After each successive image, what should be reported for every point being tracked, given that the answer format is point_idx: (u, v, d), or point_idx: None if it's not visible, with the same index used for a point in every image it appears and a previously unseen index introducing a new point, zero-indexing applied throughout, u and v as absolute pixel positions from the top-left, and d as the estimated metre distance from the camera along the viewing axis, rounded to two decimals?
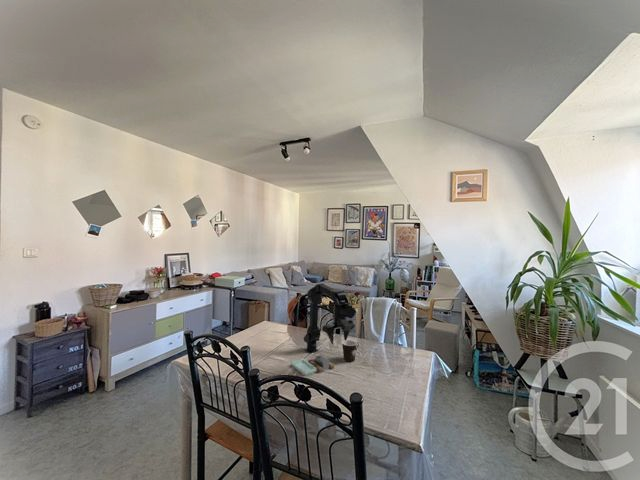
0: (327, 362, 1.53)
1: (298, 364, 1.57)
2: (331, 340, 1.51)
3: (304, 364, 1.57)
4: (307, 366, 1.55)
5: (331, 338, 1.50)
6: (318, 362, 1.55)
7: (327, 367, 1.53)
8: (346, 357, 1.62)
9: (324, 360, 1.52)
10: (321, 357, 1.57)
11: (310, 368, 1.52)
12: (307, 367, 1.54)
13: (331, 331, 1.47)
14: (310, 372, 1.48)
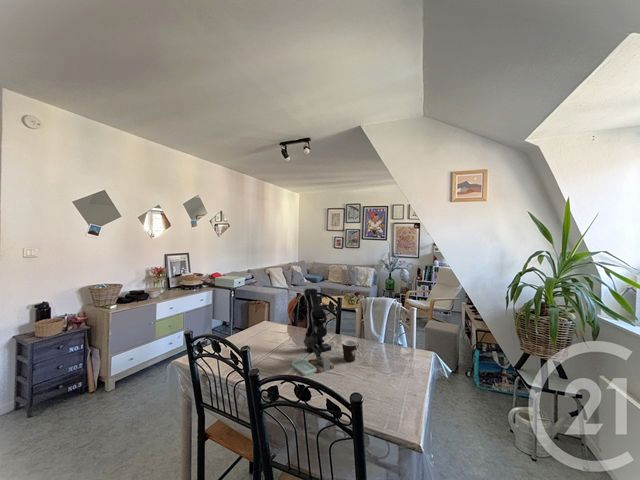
0: (328, 362, 1.52)
1: (298, 364, 1.57)
2: (316, 354, 1.60)
3: (304, 364, 1.57)
4: (307, 366, 1.55)
5: (315, 352, 1.60)
6: (319, 362, 1.54)
7: (328, 367, 1.52)
8: (346, 357, 1.62)
9: (325, 361, 1.51)
10: (322, 357, 1.56)
11: (310, 368, 1.52)
12: (307, 367, 1.54)
13: None
14: (310, 372, 1.48)
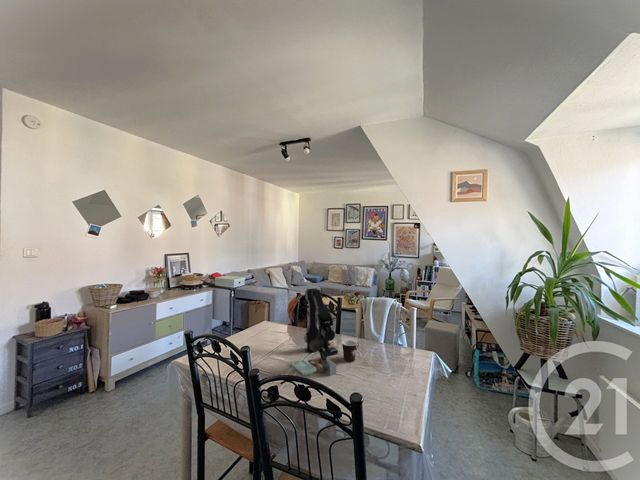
0: (334, 367, 1.47)
1: (298, 364, 1.57)
2: None
3: (304, 364, 1.57)
4: (307, 366, 1.55)
5: (320, 355, 1.55)
6: (325, 366, 1.50)
7: (334, 372, 1.47)
8: (346, 357, 1.62)
9: (331, 365, 1.47)
10: (328, 361, 1.51)
11: (310, 368, 1.52)
12: (307, 367, 1.54)
13: None
14: (310, 372, 1.48)
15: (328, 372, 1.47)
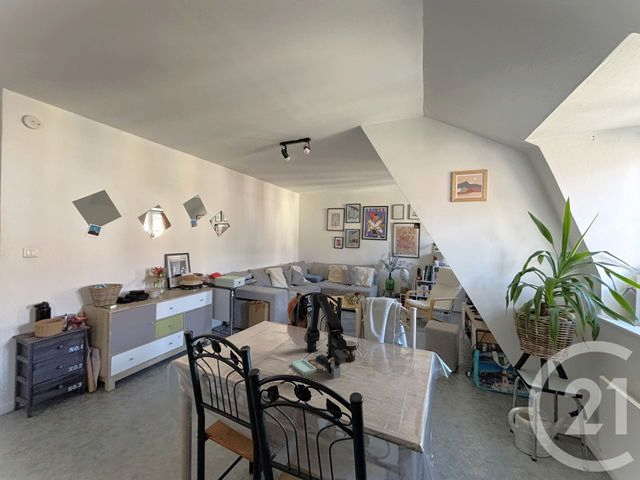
0: (338, 370, 1.44)
1: (298, 364, 1.57)
2: (328, 370, 1.45)
3: (304, 364, 1.57)
4: (307, 366, 1.55)
5: (328, 368, 1.44)
6: None
7: (338, 375, 1.44)
8: None
9: (335, 368, 1.44)
10: (332, 364, 1.48)
11: (310, 368, 1.52)
12: (307, 367, 1.54)
13: (325, 363, 1.40)
14: (310, 372, 1.48)
15: (332, 375, 1.44)
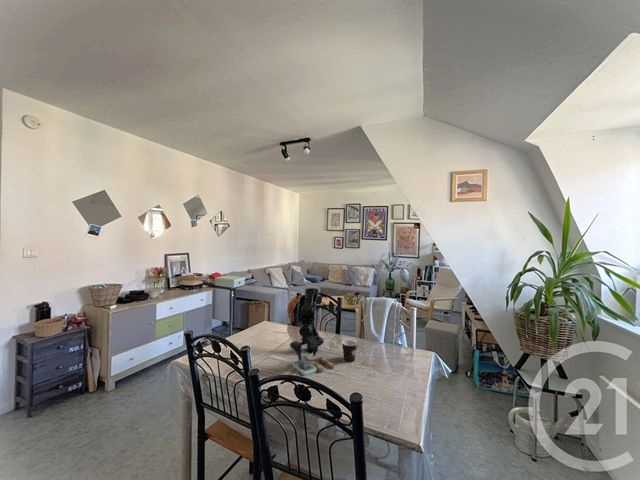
0: (308, 363, 1.50)
1: None
2: (299, 357, 1.52)
3: None
4: None
5: (298, 355, 1.51)
6: (300, 362, 1.53)
7: (308, 368, 1.50)
8: (346, 357, 1.62)
9: (305, 361, 1.50)
10: (303, 357, 1.54)
11: None
12: None
13: (298, 348, 1.49)
14: (310, 372, 1.48)
15: (303, 368, 1.50)
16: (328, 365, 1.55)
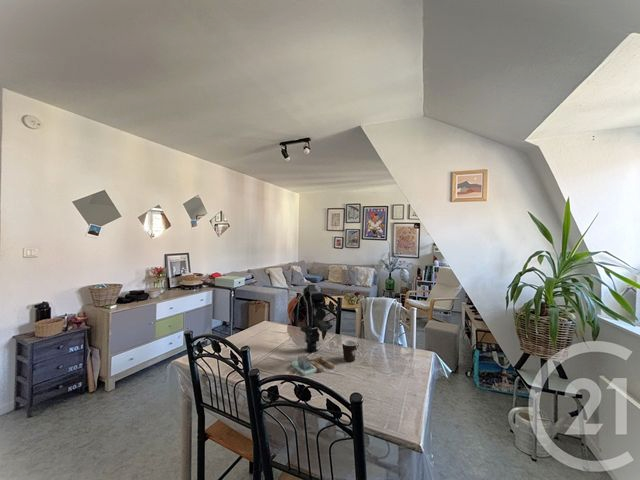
0: (308, 363, 1.50)
1: None
2: (309, 339, 1.58)
3: None
4: None
5: (309, 338, 1.58)
6: (300, 362, 1.53)
7: (308, 368, 1.50)
8: (346, 357, 1.62)
9: (305, 361, 1.50)
10: (303, 357, 1.54)
11: None
12: None
13: (308, 331, 1.55)
14: (310, 372, 1.48)
15: (302, 368, 1.50)
16: (328, 365, 1.55)
